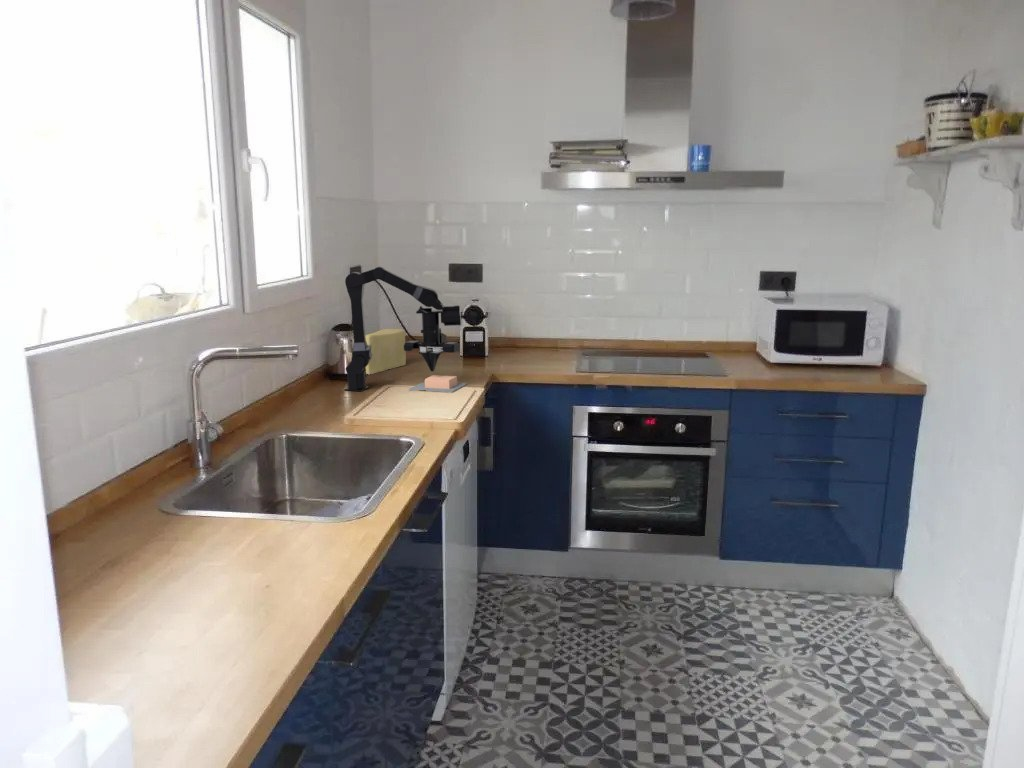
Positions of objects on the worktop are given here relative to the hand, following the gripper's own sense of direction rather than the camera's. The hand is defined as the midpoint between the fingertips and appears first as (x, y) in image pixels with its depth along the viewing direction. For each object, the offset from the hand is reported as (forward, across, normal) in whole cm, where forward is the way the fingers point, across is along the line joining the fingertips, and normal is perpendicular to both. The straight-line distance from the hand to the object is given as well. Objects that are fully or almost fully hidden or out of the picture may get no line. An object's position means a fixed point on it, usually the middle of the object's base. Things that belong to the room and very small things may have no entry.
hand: (432, 371), depth 260 cm
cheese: (+6, +33, -25) cm, 42 cm away
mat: (+6, -2, 0) cm, 6 cm away
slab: (+4, +1, 0) cm, 4 cm away
